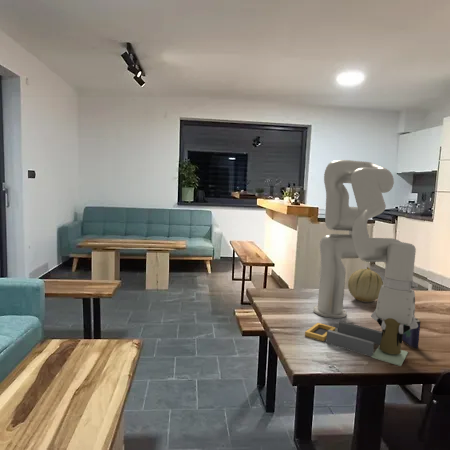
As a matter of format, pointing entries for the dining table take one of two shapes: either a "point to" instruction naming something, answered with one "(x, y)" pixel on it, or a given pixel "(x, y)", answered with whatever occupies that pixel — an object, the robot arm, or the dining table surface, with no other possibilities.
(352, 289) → the cantaloupe
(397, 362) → the mat
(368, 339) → the grey parallel walls
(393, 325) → the cork
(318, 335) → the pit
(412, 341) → the flask
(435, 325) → the dining table surface
